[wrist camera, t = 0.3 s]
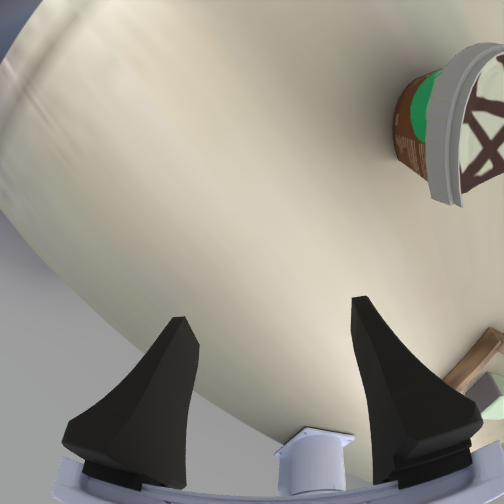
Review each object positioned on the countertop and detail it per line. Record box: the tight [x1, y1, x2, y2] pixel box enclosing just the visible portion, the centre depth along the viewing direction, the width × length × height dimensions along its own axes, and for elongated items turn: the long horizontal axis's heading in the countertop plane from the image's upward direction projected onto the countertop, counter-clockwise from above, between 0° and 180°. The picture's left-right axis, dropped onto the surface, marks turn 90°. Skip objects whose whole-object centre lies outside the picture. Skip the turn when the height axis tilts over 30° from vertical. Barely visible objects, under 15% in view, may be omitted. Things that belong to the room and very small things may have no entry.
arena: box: [443, 327, 504, 392], centre depth 28 cm, size 21×19×2 cm
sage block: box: [465, 372, 504, 419], centre depth 27 cm, size 5×9×4 cm, turn 68°
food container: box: [393, 42, 504, 208], centre depth 12 cm, size 12×6×10 cm, turn 119°
